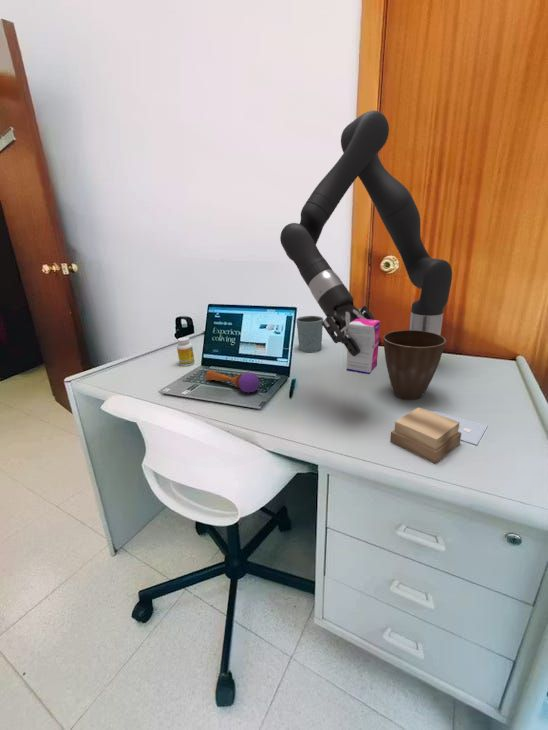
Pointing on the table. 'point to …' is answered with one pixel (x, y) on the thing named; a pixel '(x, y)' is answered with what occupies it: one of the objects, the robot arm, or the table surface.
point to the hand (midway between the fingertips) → (368, 349)
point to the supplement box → (364, 345)
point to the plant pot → (412, 360)
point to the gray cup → (309, 333)
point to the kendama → (237, 380)
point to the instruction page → (467, 429)
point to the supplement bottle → (185, 352)
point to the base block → (426, 434)
